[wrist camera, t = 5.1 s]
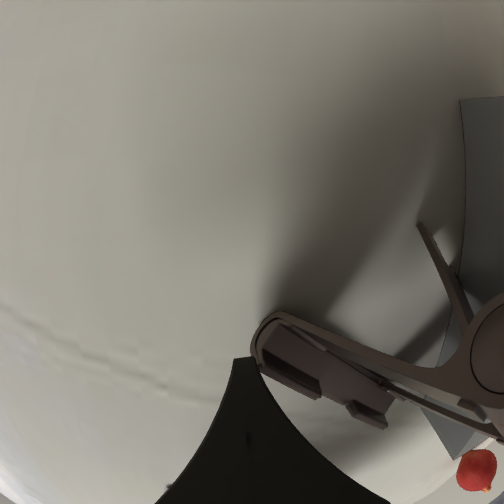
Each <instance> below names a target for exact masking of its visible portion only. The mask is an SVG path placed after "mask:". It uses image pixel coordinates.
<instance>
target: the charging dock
mask: <svg viewBox="0 0 504 504" xmlns="http://www.w3.org/2000/svg"><path fill="white" fill-rule="evenodd" d="M460 107H461V114H462V123H463V132H464V144H465V161H466V208H465V226H464V238H463V247H462V256H461V264H460V270H459V277H458V279H459V281H460V283H461V285H462V287H463V290H464V292H465V294H466V297H467V299H468V302H469V304H470V306H471V309H472V311H473V314H474V316H475V315H476V314H477V312H478V311H479V310H480V309H481V308H482V307H483V306H484V305H485V304H486V303H487V302H489V301H490V300H491V299H492V298H494V297H495V296H497V295H499V294H501V293H502V292H504V97H486V98H474V99H463V100H460ZM462 338H463V336H462V333H461V330H460V327H459V324H458V321H457V318H456V315H455V313H454V310H453V308H452V313H451V317H450V321H449V325H448V329H447V333H446V337H445V340H444V344H443V347H442V351H441V354H440V357H439V360H438V364H437V367H439V366H442V365H443V364H444V363H445V362H447V361H448V360H449V359H450V357H451V356H452V355H453V354H454V353H455V351H456V349H457V348H458V346H459V344H460V342H461V340H462ZM425 400H427V401H429V402H432V403H434V404H436V405H438V406H441V407H443V408H445V409H448V410H450V411H452V412H455V413H457V414H460V415H462V416H464V417H467V418H469V419H472V418H470V417H469V416H468V415H467V414H466V413H465V412H463V411H462V410H461V409H458V408H456V407H453V406H451V405H448V404H446V403H443V402H441V401H438V400H436V399H433V398H431V397H429V396H427V395H426V397H425ZM421 409H422V411H423V413H424V414H425V416H426V417H427V419H428V420H429V422H430V424H431V425H432V427H433V428H434V430H435V432H436V433H437V435H438V436H439V438H440V440H441V441H442V443H443V445H444V446H445V448H446V449H447V451H448V453H449V454H450V456H451V458H452V460H455V459H457V458H458V457H460V456H462V455H463V454H465V453H466V452H468V451H470V450H471V449H473V448H474V447H476V446H477V445H479V444H480V443H481V442H483V441H484V440H486V439H487V438H488V436H486V435H483V434H481V433H478V432H476V431H473V430H471V429H469V428H466V427H464V426H462V425H459V424H457V423H455V422H453V421H450V420H448V419H446V418H444V417H442V416H439V415H437V414H435V413H433V412H431V411H429V410H426V409H424V408H422V407H421ZM472 420H474V421H477V420H475V419H472ZM477 422H479V423H483V422H480V421H477ZM484 423H491V421H490V420H488V419H486V420H485V422H484Z"/></svg>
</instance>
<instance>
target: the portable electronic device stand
mask: <svg viewBox="0 0 504 504" xmlns="http://www.w3.org/2000/svg"><path fill="white" fill-rule="evenodd" d="M416 227H417V228H418V230H419V232H420V234H421V236H422V238H423V240H424V242H425V244H426V247H427V249H428V251H429V253H430V255H431V257H432V259H433V261H434V264H435V266H436V268H437V270H438V273H439V275H440V277H441V280H442V282H443V284H444V287H445V289H446V292H447V294H448V297H449V299H450V302H451V304H452V307H453V310H454V313H455V315H456V318H457V321H458V324H459V327H460V330H461V333H462V336H463V338H462V340H461V342H460V344H459V346H458V348H457V349H456V351H455V353H454V354H453V355H452V356H451V357H450V359H449V360H448V361H447V362H445V363H444V364H443V365H442V366H439V367H436V368H424V367H420V366H416V365H413V364H411V363H408V362H405V361H403V360H400V359H398V358H395V357H392V356H390V355H387V354H385V353H382V352H379V351H377V350H374V349H372V348H369V347H367V346H364V345H362V344H359V343H357V342H354V341H352V340H349V339H347V338H344V337H342V336H340V335H337V334H335V333H332V332H330V331H328V330H325V329H323V328H320V327H318V326H316V325H313V324H311V323H309V322H306V321H304V320H302V319H299V318H297V317H295V316H292V315H290V314H288V313H285V312H283V311H277V312H275V313H273V314H271V315H270V316H268V317H267V318H266V319H265V320H264V321H263V322H262V323H261V324H260V326H259V327H258V329H257V330H256V332H255V334H254V336H253V338H252V341H251V345H250V353H251V356H254V358H256V362H257V366H258V369H259V371H260V372H261V373H263V374H265V375H266V376H268V377H270V378H272V379H274V380H276V381H278V382H280V383H281V384H283V385H285V386H287V387H289V388H291V389H293V390H295V391H297V392H299V393H301V394H303V395H305V396H307V397H309V398H311V399H313V400H316V399H317V398H321V396H322V395H323V396H325V397H327V398H329V399H331V400H333V401H335V402H337V403H339V404H342V405H344V406H345V407H346V408H347V410H348V411H349V413H350V414H351V416H352V417H353V418H356V419H358V420H360V421H363V422H365V423H368V424H370V425H373V426H375V427H378V428H380V429H383V430H384V429H385V428H387V427H388V422H387V420H386V418H385V415H384V414H385V413H386V411H387V410H388V408H389V407H390V405H391V404H392V402H393V401H394V399H395V398H396V399H398V400H401V401H405V400H408V401H410V402H412V403H414V404H416V405H418V406H420V407H422V408H424V409H426V410H429V411H431V412H433V413H435V414H437V415H439V416H442V417H444V418H446V419H448V420H450V421H453V422H455V423H457V424H459V425H462V426H464V427H466V428H469V429H471V430H473V431H476V432H478V433H481V434H483V435H486V436H488V437H491V438H494V439H496V441H497V442H498V443H499V444H502V445H504V292H502V293H501V294H499V295H497V296H495V297H494V298H492V299H491V300H490V301H489V302H487V303H486V304H485V305H484V306H483V307H482V308H481V309H480V310H479V311H478V312H477V314H476V315H475V316H474V314H473V311H472V309H471V306H470V304H469V302H468V299H467V297H466V294H465V292H464V290H463V287H462V285H461V283H460V281H459V279H458V277H457V275H456V274H455V272H454V270H453V269H452V267H448V265H447V263H446V261H445V260H444V258H443V256H442V254H441V252H440V250H439V248H438V246H437V244H436V242H435V240H434V239H433V237H432V235H431V234H430V232H429V231H428V230H427V228H426V227H425V225H424V224H423V223H422V221H419V222H417V223H416ZM362 366H363V367H362ZM364 367H366V368H368V369H370V370H372V371H374V372H376V373H378V374H380V375H382V376H384V377H387V378H389V379H391V380H393V381H395V382H397V383H400V384H402V385H404V386H406V387H408V388H411V389H413V390H415V391H417V392H420V393H422V394H424V395H427V396H429V397H431V398H433V399H436V400H438V401H441V402H443V403H446V404H448V405H451V406H453V407H456V408H458V409H461V410H462V411H463V412H465V413H466V414H467V415H468V416H469V417H470V418H472V419H475V420H477V421H480V422H483V423H479V422H477V421H474V420H472V419H469V418H467V417H464V416H462V415H460V414H457V413H455V412H452V411H450V410H448V409H445V408H443V407H441V406H438V405H436V404H434V403H432V402H429V401H427V400H425V399H423V398H420V397H418V396H416V395H414V394H412V393H410V392H407V391H405V390H403V389H401V388H399V387H397V386H395V385H393V384H392V383H390V382H388V381H386V380H382V379H380V378H378V377H377V376H375V375H374V374H372V373H371V372H370V371H368V370H367V369H365V368H364ZM486 419H488V420H490V421H491V423H484V422H485V420H486Z"/></svg>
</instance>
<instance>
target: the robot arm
mask: <svg viewBox="0 0 504 504" xmlns="http://www.w3.org/2000/svg"><path fill="white" fill-rule="evenodd" d="M155 504H391V503H390V502H389V501H387V500H385V499H384V498H382V497H380V496H378V495H376V494H375V493H373V492H371V491H370V490H368V489H366V488H365V487H363V486H362V485H360V484H359V483H357V482H356V481H354V480H353V479H351V478H350V477H349V476H347V475H346V474H344V473H343V472H342V471H341V470H339V469H338V468H337V467H336V466H335V465H333V464H332V463H331V462H330V461H329V460H327V459H326V458H325V457H324V456H323V455H322V454H321V453H319V452H318V451H317V450H316V449H315V448H314V447H313V446H312V445H311V444H310V443H309V442H308V441H307V440H306V439H305V437H304V436H303V435H302V434H301V433H300V432H299V431H298V430H297V428H296V427H295V426H294V425H293V424H292V422H291V421H290V420H289V419H288V417H287V416H286V415H285V413H284V412H283V411H282V409H281V408H280V406H279V405H278V403H277V402H276V400H275V399H274V397H273V396H272V394H271V392H270V391H269V389H268V387H267V386H266V384H265V382H264V380H263V378H262V376H261V373H260V371H259V369H258V366H257V362H256V358H254V356H250V357H243V358H236V359H234V361H233V366H232V370H231V375H230V378H229V382H228V385H227V388H226V391H225V393H224V396H223V399H222V401H221V404H220V407H219V409H218V411H217V413H216V416H215V418H214V420H213V422H212V424H211V426H210V428H209V430H208V432H207V434H206V436H205V438H204V439H203V441H202V443H201V445H200V446H199V448H198V450H197V451H196V453H195V454H194V456H193V457H192V459H191V460H190V462H189V463H188V465H187V466H186V467H185V469H184V470H183V472H182V473H181V474H180V476H179V477H178V478H177V479H176V481H175V482H174V483H173V484H172V485H171V486H170V487H169V488H166V489H164V494H163V495H162V496H161V497H160V499H159V500H158V501H157V502H156V503H155ZM489 504H504V491H503V492H502V493H501V495H499V496H498V497H497V498H496V499H494V500H493V501H492V502H491V503H489Z"/></svg>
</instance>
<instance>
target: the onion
mask: <svg viewBox="0 0 504 504" xmlns="http://www.w3.org/2000/svg"><path fill="white" fill-rule="evenodd" d="M496 469H497V461H496V457H495V456H494V454H493V453H492V452H491V451H490V450H486V449H479V450H470V451H468V452H466V453H465V454H463V456H462V459H461V461H460V464H459V466H458V470H457V475H456V478H457V482H458V484H459V485H460V487H462V488H463V489H465V490H467V491H479V490H482V491H484V492H485V493H486V492H488V491H490V489H491V482H492V480H493V478H494V476H495V474H496Z"/></svg>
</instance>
